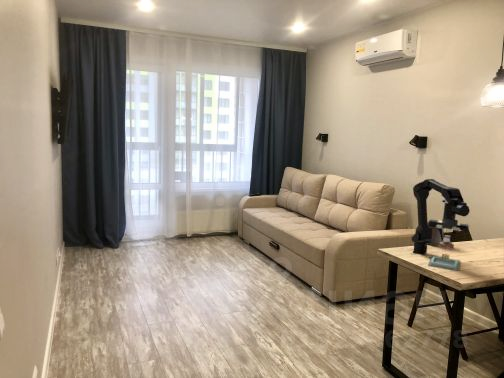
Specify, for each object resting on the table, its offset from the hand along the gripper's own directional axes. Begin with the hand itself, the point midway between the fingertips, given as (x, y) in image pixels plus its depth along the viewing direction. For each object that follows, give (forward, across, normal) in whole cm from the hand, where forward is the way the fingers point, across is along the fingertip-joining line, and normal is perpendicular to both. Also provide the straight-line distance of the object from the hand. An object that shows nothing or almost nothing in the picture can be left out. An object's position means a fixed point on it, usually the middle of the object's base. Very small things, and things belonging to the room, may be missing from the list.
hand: (446, 241), depth 214 cm
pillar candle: (+13, -9, +40) cm, 43 cm away
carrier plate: (+12, 0, +2) cm, 13 cm away
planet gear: (+3, 0, 0) cm, 3 cm away
